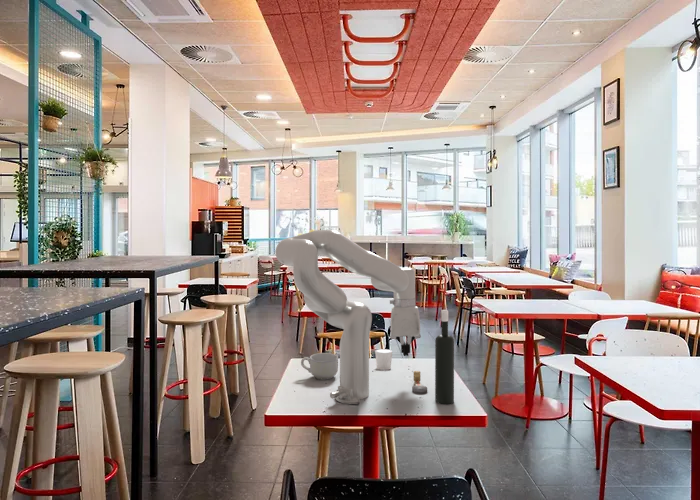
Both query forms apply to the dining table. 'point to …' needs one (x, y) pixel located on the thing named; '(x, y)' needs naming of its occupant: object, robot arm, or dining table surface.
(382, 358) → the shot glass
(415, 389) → the multicoloured piece
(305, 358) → the teacup
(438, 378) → the wine bottle
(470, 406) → the dining table surface
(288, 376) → the dining table surface
